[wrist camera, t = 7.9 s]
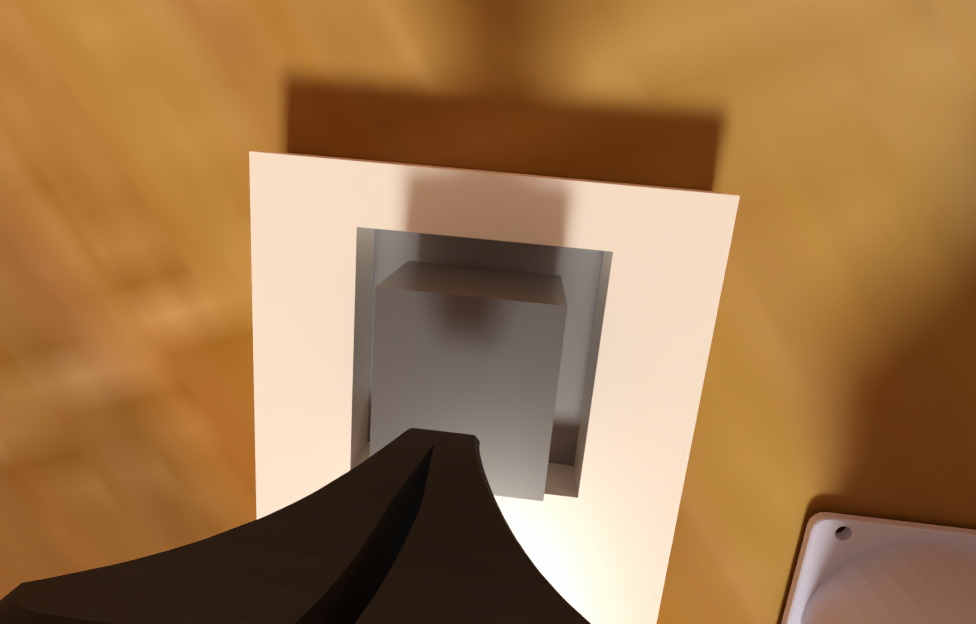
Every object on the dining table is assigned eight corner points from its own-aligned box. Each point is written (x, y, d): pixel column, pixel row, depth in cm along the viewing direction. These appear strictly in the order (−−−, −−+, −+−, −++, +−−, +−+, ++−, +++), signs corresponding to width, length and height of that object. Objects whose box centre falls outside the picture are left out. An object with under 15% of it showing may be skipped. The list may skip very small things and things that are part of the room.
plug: (559, 268, 18) (568, 306, 13) (541, 418, 19) (542, 501, 14) (416, 254, 18) (375, 286, 13) (408, 403, 19) (368, 480, 15)
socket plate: (712, 191, 17) (751, 197, 14) (640, 586, 21) (658, 660, 18) (286, 152, 18) (234, 150, 15) (287, 541, 22) (246, 605, 18)
